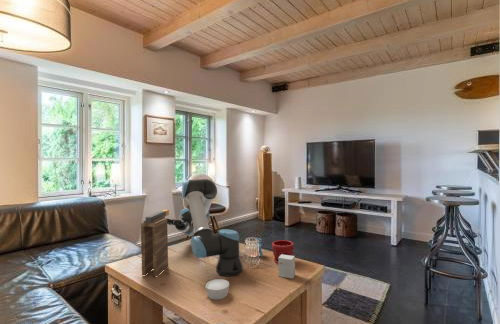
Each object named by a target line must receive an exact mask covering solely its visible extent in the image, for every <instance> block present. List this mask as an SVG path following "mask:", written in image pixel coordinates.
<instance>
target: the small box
mask: <svg viewBox="0 0 500 324" xmlns="http://www.w3.org/2000/svg"><path fill="white" fill-rule="evenodd" d="M277 265H278V266H277V267H278V277H280V278H285V279H286V278H287V279H294V277H295V276H296V257H295V255H292V256H290V255H283V254H281V255H280V256H279V258H278V263H277Z"/></svg>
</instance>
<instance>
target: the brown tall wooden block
mask: <svg viewBox="0 0 500 324" xmlns="http://www.w3.org/2000/svg"><path fill="white" fill-rule="evenodd" d="M167 219H168V217H166V216H162V217H160V218H158V219H156V220H154V221H152V223H146V219H144V220H143V221H142V222H140V237H141V238H140V240H141V241H140V242H141V243H140V244H141V246H140V247H141V248H140V249H141V251H140V252H141V276H142V275H146V274H147V273H149V272H150V271H151V270H152V269H154V270H153V277H154V276H158V275H159V274H160V273H161V272H162V271H163V270H165V269H166V268H167V267H168V268H169V249H168V248H169V247H168V246H169V245H168V244H169V241H168V235H169V234H168V233H169V232H168V224H167ZM168 268H167V269H168ZM167 269H166V270H167ZM166 270H165V271H166ZM149 274H150V273H149ZM159 276H160V275H159ZM159 276H158V277H159Z"/></svg>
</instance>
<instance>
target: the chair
mask: <svg viewBox="0 0 500 324" xmlns="http://www.w3.org/2000/svg"><path fill="white" fill-rule="evenodd" d="M252 238H257V239H256V240H258V241H259V242H257V244H259V252H258V253H260V256H261V257H263V251H262V243H261V242H262V238H259V237H256V236H254V237H252ZM261 257H260V258H261Z"/></svg>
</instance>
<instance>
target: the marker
mask: <svg viewBox="0 0 500 324" xmlns="http://www.w3.org/2000/svg"><path fill="white" fill-rule="evenodd" d="M169 215H170V210H169V209H162V210H160V211H158V212H155V213H153V214H150V215H148V216H145V220H146V223H152V221H154V220H156V219H158V218H160V217H162V216H165V217H167V216H169Z"/></svg>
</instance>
